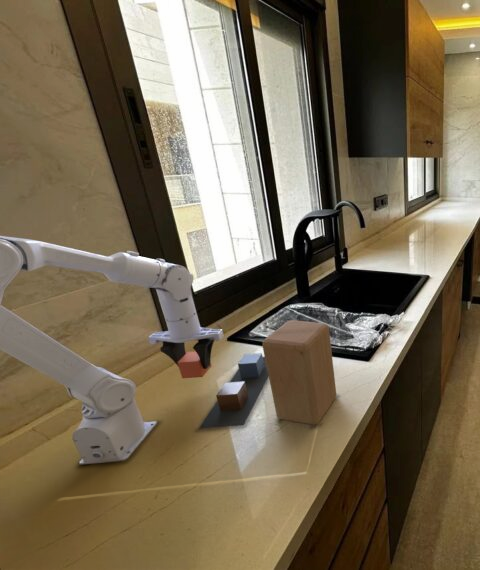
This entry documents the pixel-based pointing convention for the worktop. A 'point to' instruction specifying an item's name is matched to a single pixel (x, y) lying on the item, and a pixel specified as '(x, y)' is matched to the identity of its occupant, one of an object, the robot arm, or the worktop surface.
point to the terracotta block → (191, 366)
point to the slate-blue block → (251, 365)
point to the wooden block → (300, 370)
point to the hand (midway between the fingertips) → (196, 367)
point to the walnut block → (232, 396)
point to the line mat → (240, 416)
